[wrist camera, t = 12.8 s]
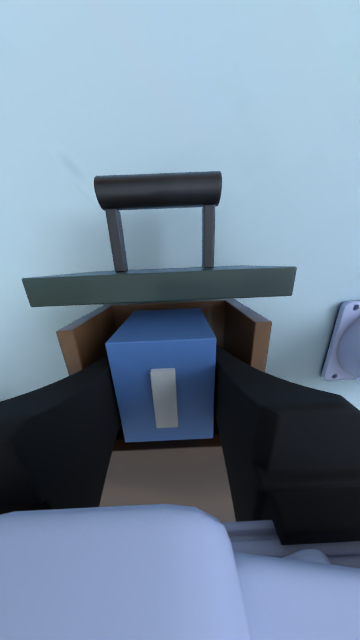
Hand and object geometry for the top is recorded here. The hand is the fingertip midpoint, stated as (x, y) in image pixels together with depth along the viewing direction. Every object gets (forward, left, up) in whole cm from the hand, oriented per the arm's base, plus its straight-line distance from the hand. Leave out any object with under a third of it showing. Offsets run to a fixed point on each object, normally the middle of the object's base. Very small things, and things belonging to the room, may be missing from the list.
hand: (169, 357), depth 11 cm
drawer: (0, -1, -4) cm, 4 cm away
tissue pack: (0, 0, -1) cm, 1 cm away
